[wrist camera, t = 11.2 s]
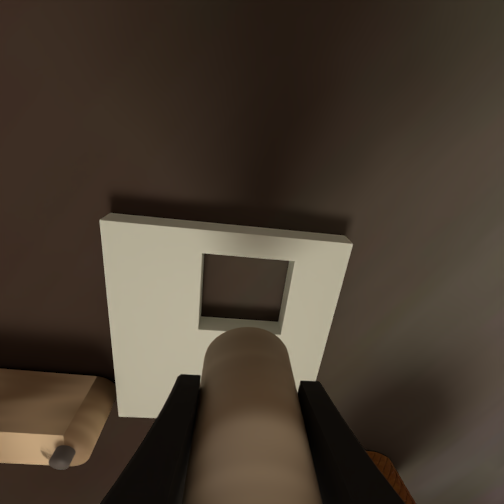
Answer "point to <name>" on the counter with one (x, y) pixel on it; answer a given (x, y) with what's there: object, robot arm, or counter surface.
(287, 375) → the loose leg
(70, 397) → the hinged leg
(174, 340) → the stool seat
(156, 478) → the robot arm
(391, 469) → the disposable coffee cup
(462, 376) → the counter surface
